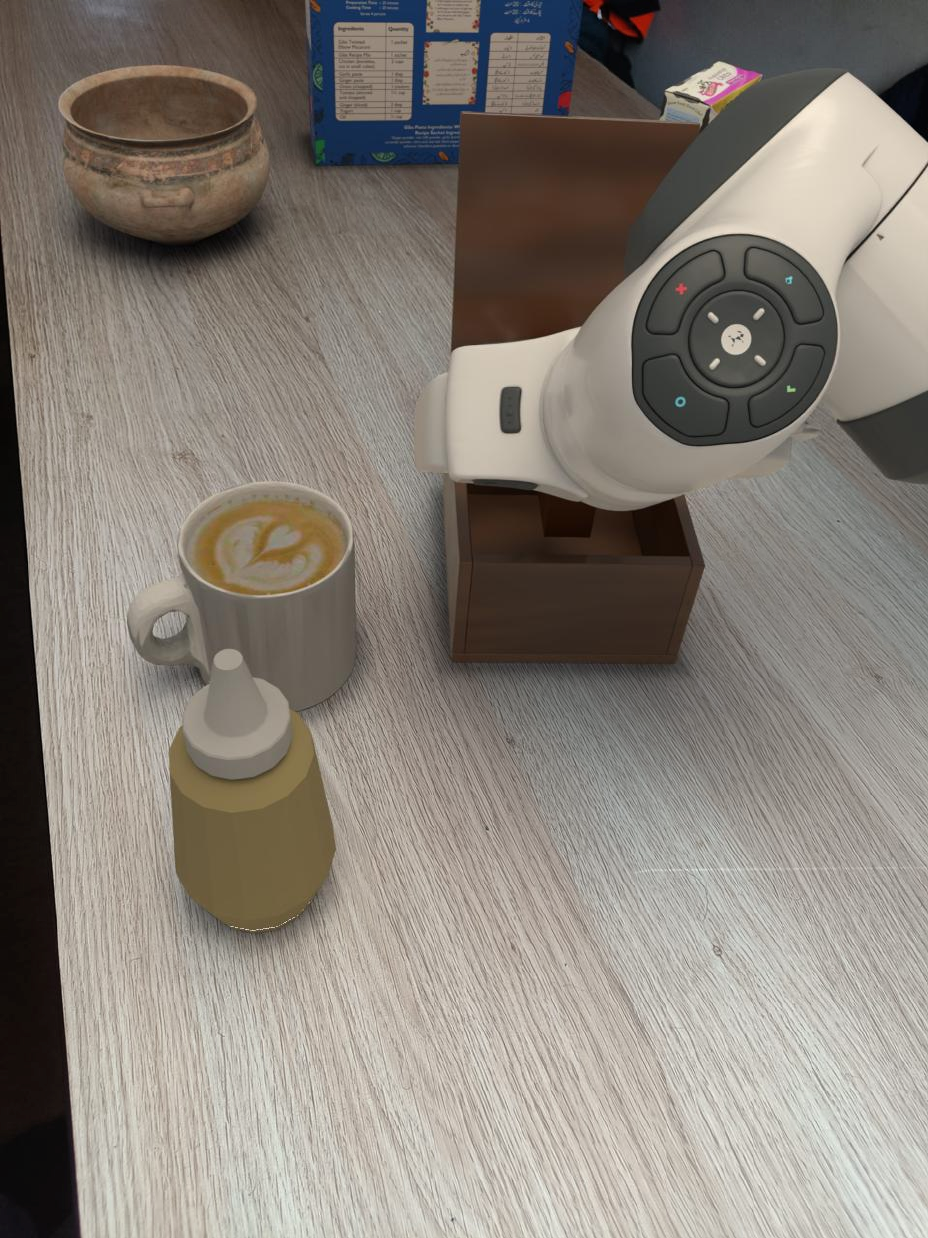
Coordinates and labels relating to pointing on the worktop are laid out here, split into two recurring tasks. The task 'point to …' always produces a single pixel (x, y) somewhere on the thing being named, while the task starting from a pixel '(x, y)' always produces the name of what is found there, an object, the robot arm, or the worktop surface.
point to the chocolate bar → (565, 517)
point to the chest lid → (549, 216)
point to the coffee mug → (260, 590)
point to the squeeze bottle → (248, 802)
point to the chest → (566, 580)
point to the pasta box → (430, 72)
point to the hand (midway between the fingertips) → (575, 454)
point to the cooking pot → (164, 151)
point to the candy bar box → (706, 93)
